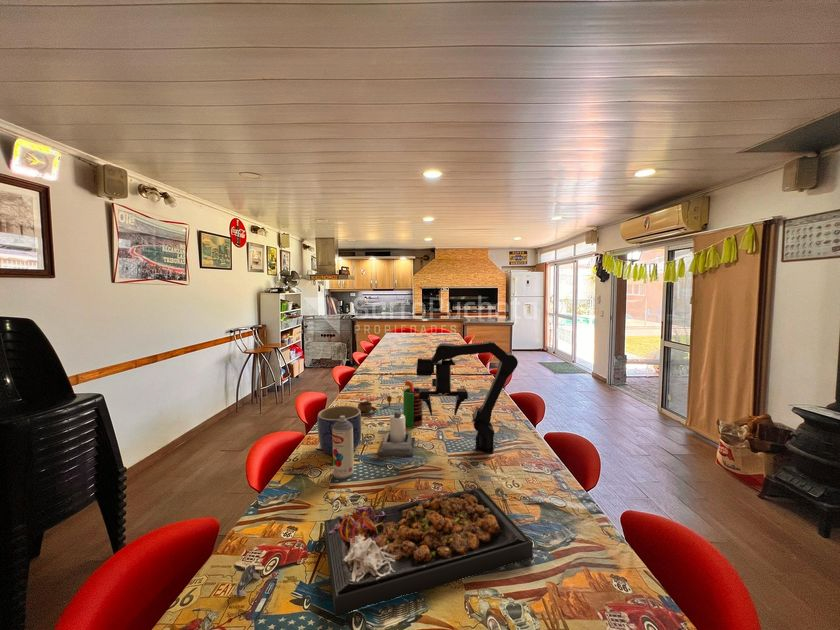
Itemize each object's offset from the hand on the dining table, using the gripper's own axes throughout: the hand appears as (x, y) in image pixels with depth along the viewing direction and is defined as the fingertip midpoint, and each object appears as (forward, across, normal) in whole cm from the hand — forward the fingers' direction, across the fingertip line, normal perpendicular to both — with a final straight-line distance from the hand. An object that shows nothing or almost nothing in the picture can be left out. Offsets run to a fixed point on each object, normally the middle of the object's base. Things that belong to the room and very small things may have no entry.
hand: (443, 415), depth 140 cm
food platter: (+14, +7, +54) cm, 56 cm away
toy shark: (+14, +43, +63) cm, 78 cm away
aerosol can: (+13, +35, +21) cm, 42 cm away
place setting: (+14, +34, -42) cm, 56 cm away
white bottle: (+12, +18, +1) cm, 21 cm away
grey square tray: (+13, +18, +1) cm, 22 cm away
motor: (+13, +13, -25) cm, 31 cm away
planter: (+13, +40, +2) cm, 43 cm away
